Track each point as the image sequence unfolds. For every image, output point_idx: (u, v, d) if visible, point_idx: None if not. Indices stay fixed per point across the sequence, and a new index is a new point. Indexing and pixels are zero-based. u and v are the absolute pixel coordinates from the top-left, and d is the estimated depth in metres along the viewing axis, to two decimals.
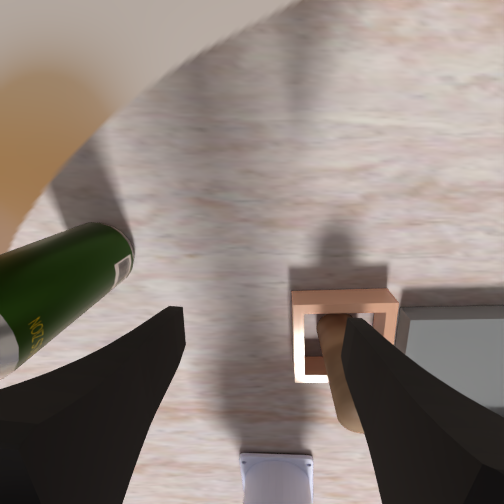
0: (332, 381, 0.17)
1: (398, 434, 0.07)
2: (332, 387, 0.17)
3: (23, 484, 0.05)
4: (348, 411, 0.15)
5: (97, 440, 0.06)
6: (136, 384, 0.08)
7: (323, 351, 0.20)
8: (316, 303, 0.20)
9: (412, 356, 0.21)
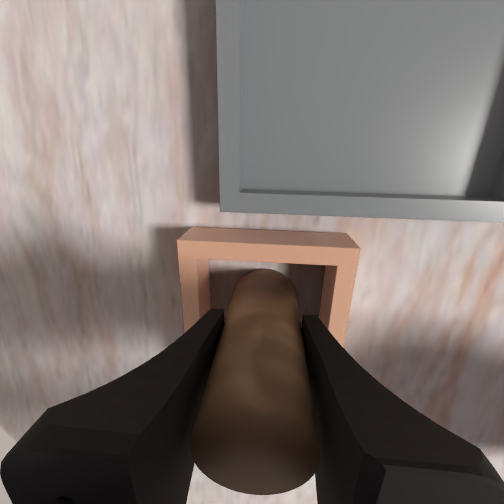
0: None
1: (326, 428, 0.07)
2: None
3: (124, 496, 0.04)
4: (248, 478, 0.07)
5: (172, 448, 0.06)
6: (194, 389, 0.08)
7: None
8: None
9: (303, 201, 0.11)
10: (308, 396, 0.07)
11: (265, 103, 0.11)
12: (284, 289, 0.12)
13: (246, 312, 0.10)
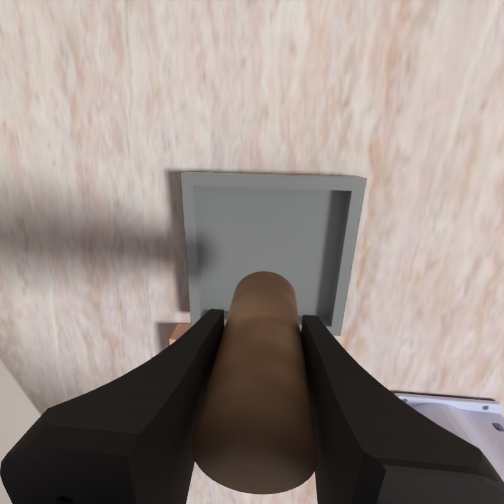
0: None
1: (326, 428, 0.07)
2: None
3: (124, 496, 0.04)
4: (246, 478, 0.07)
5: (172, 448, 0.06)
6: (194, 389, 0.08)
7: None
8: None
9: None
10: (309, 402, 0.08)
11: (213, 273, 0.21)
12: (286, 293, 0.12)
13: (250, 314, 0.10)
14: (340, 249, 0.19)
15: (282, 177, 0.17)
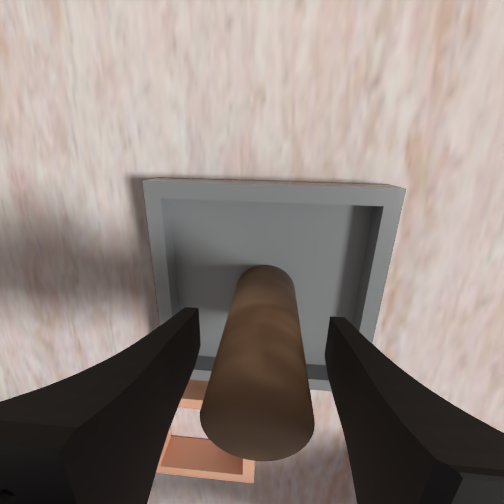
0: None
1: (370, 432, 0.07)
2: None
3: (61, 488, 0.05)
4: (249, 445, 0.08)
5: (125, 443, 0.06)
6: (158, 386, 0.08)
7: None
8: None
9: None
10: (306, 377, 0.09)
11: None
12: (285, 284, 0.13)
13: (252, 302, 0.11)
14: (364, 283, 0.14)
15: (285, 187, 0.12)
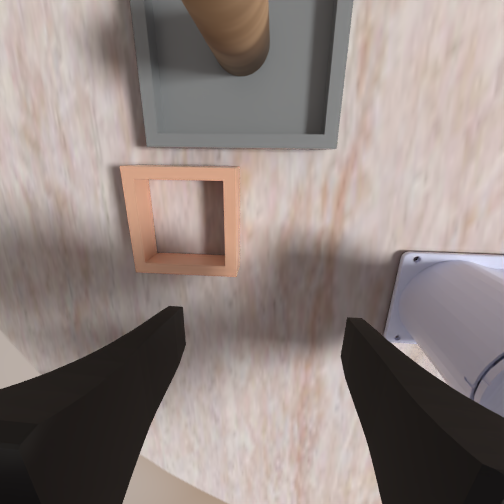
0: (206, 28, 0.10)
1: (398, 434, 0.07)
2: (208, 27, 0.10)
3: (23, 484, 0.05)
4: None
5: (97, 440, 0.06)
6: (136, 384, 0.08)
7: (225, 57, 0.13)
8: None
9: (197, 137, 0.17)
10: None
11: (173, 75, 0.17)
12: None
13: None
14: (334, 10, 0.14)
15: None
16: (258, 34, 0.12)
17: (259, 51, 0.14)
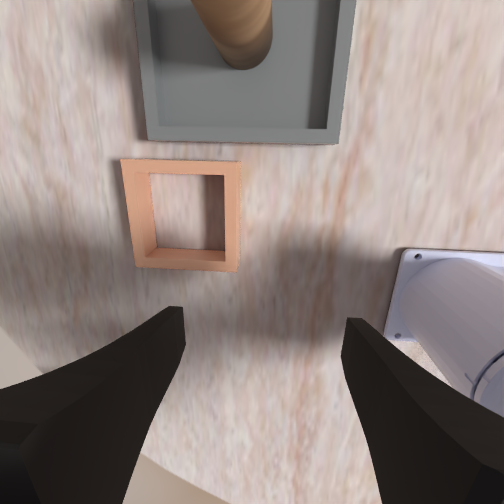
0: (208, 17, 0.10)
1: (398, 434, 0.07)
2: (211, 16, 0.10)
3: (23, 484, 0.05)
4: None
5: (97, 440, 0.06)
6: (136, 384, 0.08)
7: (227, 49, 0.13)
8: None
9: (199, 131, 0.17)
10: None
11: (175, 68, 0.17)
12: None
13: None
14: (338, 3, 0.14)
15: None
16: (261, 25, 0.12)
17: (262, 43, 0.14)
